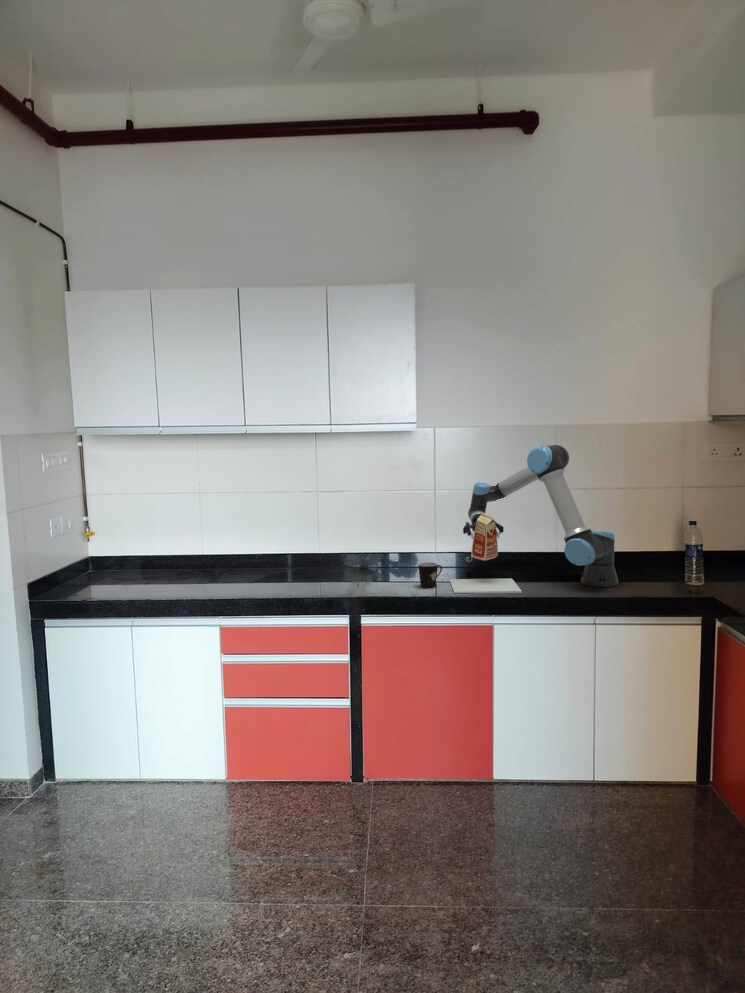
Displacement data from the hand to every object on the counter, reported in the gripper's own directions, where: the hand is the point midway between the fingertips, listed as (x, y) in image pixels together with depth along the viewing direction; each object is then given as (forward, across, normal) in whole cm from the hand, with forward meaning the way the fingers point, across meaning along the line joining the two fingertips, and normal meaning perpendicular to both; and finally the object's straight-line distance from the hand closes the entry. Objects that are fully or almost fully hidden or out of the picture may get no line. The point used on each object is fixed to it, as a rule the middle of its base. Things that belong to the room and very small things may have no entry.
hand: (485, 535), depth 278 cm
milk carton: (-4, 0, -11) cm, 12 cm away
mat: (+5, +1, -22) cm, 22 cm away
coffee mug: (+3, +24, -22) cm, 33 cm away
